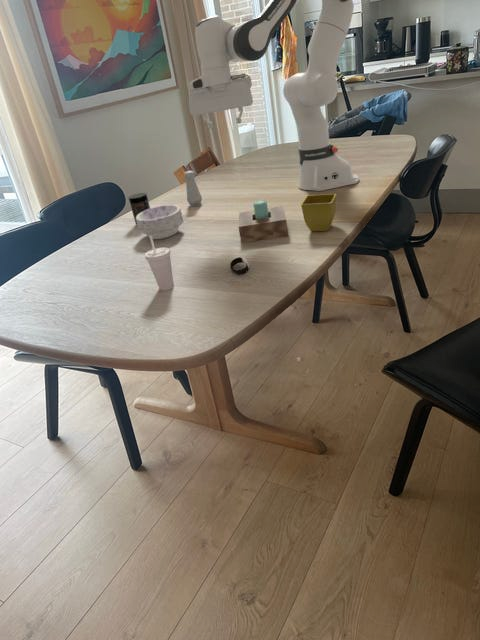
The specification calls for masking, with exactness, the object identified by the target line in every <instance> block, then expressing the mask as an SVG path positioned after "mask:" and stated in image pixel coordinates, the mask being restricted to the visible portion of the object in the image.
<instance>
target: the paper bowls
mask: <svg viewBox="0 0 480 640" xmlns="http://www.w3.org/2000/svg"><path fill="white" fill-rule="evenodd" d="M136 222H137V225H136V226H137V228H138V231H139V233H140V234H143V235H146V236H147V237H148V238H149V239H150V237H149V236H152V239H153V240H162V239H167V238H169V237H172V236H174V235H175V234H177V233H178V232H179V228H180V226H181V225H182V224H183V223H184V217H183V212H182V208H181V207H180V206H179V205H176V204H165V205H159V206H155V207H150V209H147V210H145V211H143V212H141V213H139V214H138V215H137V216H136Z"/></svg>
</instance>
